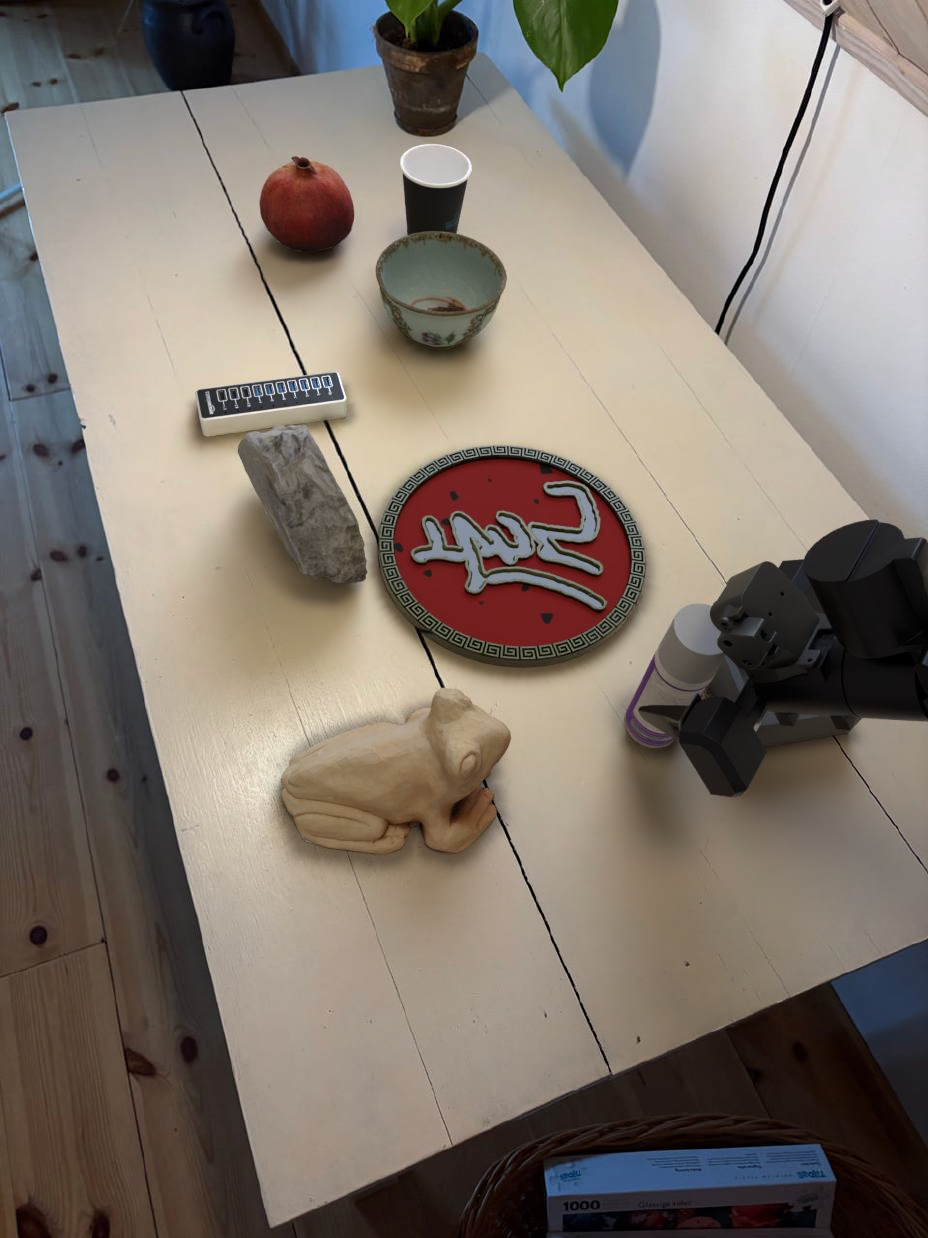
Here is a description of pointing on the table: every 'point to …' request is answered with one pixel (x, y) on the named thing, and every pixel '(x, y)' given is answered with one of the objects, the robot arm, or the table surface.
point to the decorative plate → (511, 556)
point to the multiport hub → (271, 403)
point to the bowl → (440, 287)
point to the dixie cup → (434, 187)
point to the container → (676, 671)
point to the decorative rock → (305, 503)
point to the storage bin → (770, 731)
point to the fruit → (306, 206)
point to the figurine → (400, 780)
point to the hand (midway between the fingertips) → (668, 670)
